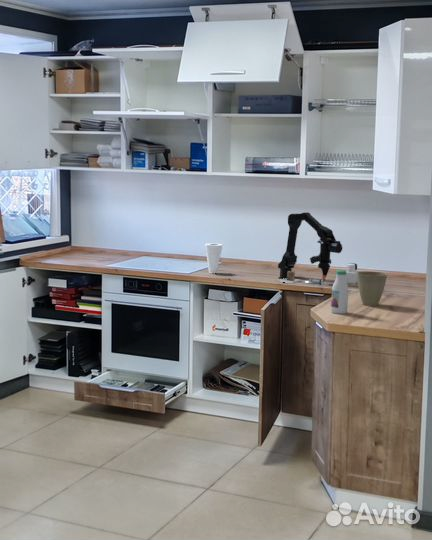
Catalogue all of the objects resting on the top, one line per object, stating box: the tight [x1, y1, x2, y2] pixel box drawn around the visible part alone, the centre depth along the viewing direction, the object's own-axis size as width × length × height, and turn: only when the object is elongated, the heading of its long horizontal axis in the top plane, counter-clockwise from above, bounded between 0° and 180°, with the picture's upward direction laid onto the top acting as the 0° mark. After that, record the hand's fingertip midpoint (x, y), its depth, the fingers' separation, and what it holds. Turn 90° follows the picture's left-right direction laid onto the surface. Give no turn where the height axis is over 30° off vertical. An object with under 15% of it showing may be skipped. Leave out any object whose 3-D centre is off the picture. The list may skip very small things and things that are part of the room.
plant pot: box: [357, 271, 388, 307], centre depth 390 cm, size 15×15×16 cm
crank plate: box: [295, 278, 333, 287], centre depth 448 cm, size 16×14×4 cm
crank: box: [303, 274, 327, 285], centre depth 447 cm, size 13×9×5 cm
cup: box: [204, 243, 223, 274], centre depth 478 cm, size 11×11×18 cm
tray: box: [279, 278, 303, 284], centre depth 452 cm, size 9×9×2 cm
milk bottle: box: [330, 269, 349, 315], centre depth 366 cm, size 8×8×20 cm
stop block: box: [287, 271, 296, 281], centre depth 452 cm, size 4×4×6 cm
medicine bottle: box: [345, 262, 359, 284], centre depth 456 cm, size 7×7×12 cm
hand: (324, 278), depth 447 cm, fingers closed
